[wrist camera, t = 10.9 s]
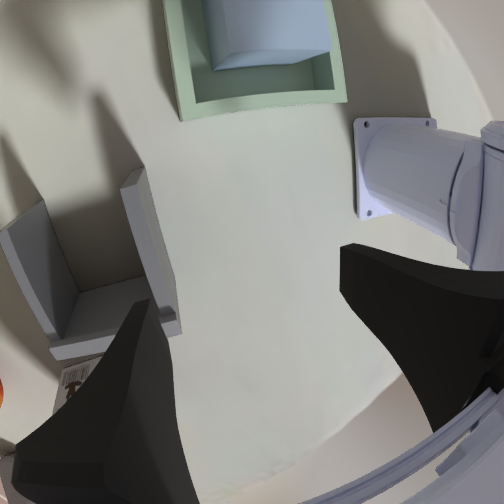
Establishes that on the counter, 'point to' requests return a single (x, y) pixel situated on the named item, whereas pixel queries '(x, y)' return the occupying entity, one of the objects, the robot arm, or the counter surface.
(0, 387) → the fruit
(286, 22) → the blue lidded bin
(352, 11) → the counter surface
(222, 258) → the counter surface
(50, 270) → the printer bay
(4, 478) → the coffee pot
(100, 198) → the counter surface
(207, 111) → the tray
